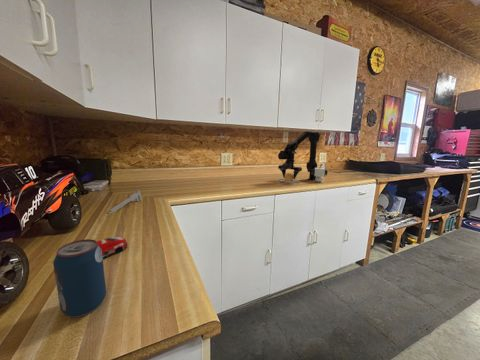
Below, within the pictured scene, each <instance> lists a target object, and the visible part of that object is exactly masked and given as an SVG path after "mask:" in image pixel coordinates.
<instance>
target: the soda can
mask: <svg viewBox="0 0 480 360" xmlns="http://www.w3.org/2000/svg"><path fill="white" fill-rule="evenodd" d="M52 263H53V270H54V277H55V284H56V290H57V295H58V296H57V297H58V304H59V308H60V309H59V310H60V312H61V313H62V314H64V315H66V316H67V317H70V318H79V317H80V318H81V317H83V316H86V315H88V314H90V313H91V314H92V312H94V311H95V310H97V309H98V308H99V307H100V306H101V305H102V303H103V302H104V300H105V297H106V296H107V287H106V277H105V266H104V259H103V257H102V249H101V248H100V247H99V246H98V245H97V240H95V239H90V238H89V239H88V238H87V239H79V240H75V241H71V242H69V243H65V244H63V245H61V246H60V247H59V248H58V249H57V250H56V255H55V257H54V259H53V261H52Z"/></svg>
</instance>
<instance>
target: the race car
mask: <svg viewBox="0 0 480 360" xmlns="http://www.w3.org/2000/svg"><path fill="white" fill-rule="evenodd" d="M96 242H97V245H98V246H99V247H100V248H101V249H102V257H103V260H104V259H107V258H109V257H111V256H113V255H118V254H121V253H122V252H123V251H125V250H126V249H127V248H128V242H127V240H126V238H124V237H121V236H116V237H107V238H103V239H100V240H96Z"/></svg>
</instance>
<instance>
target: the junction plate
mask: <svg viewBox="0 0 480 360" xmlns="http://www.w3.org/2000/svg"><path fill="white" fill-rule="evenodd" d="M284 179H285V178H281V179H277V182H280V183H284V184H285V183H286V184H290V185H291V184H296V183H300V182H301V181H300V180H298V179H297V180H296V179H293V181H286V180H284Z"/></svg>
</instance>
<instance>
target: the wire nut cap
mask: <svg viewBox="0 0 480 360" xmlns="http://www.w3.org/2000/svg"><path fill="white" fill-rule="evenodd" d="M293 177H294V173H291V172H290V173H289V172H288V173H287V172H286V174H285V178H283V179H284V180H286V181H293V180H294V179H293Z"/></svg>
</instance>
